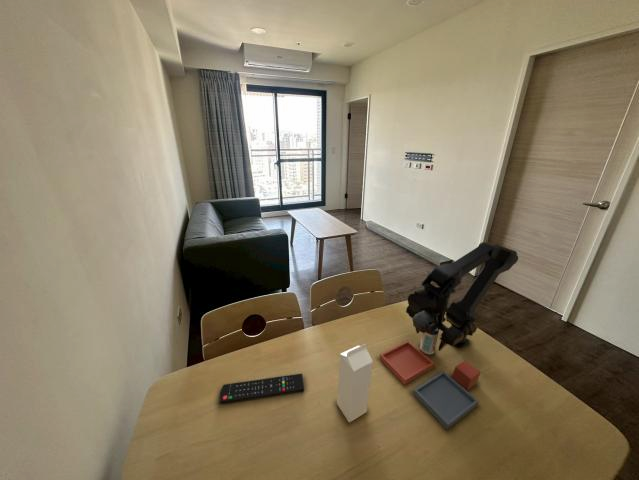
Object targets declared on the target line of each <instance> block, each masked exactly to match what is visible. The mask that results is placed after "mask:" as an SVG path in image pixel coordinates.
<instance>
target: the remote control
mask: <svg viewBox="0 0 639 480" xmlns="http://www.w3.org/2000/svg"><path fill="white" fill-rule="evenodd" d="M303 379H304V378H303V373H296V374H295V373H294V374H290V375H281V376H274V377H267V378H262V379H261V378H259V379H254V380H247V381H239V382H232V383H226V384H223V385H222V387H221V388H220V391H219V402H220V404H226V403H233V402H240V401H246V400H251V399H252V400H253V399H260V398H266V397H271V396H277V395H286V394H292V393H298V392H305V386H304V380H303Z"/></svg>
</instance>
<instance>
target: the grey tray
mask: <svg viewBox="0 0 639 480" xmlns="http://www.w3.org/2000/svg"><path fill="white" fill-rule="evenodd" d="M412 394H413V396H414V397H415V398H416V399H417V400H418V401H419V402H420V403H421V404H422V405H423V406H424V408H425V409H426V410H427V411H428V412H429V413H430V414H431V415H432V416H433V417H434V418H435V419H436V420H437V421H438V422H439V423H440V424H441V425H442V426H443V428H444V429H446V430H447V431H448V430H449V429H450V428H452V427H453V426H454V425H455V424H457V422H459V421H460V420H461V419H462V418H464V417H465V416H466V415H468V414H469V413H470V412H471V411H473V409H475V408H476V407H477V406H478V404H479V399H477V398H475V396H473V395H472V394H471V393H470V392H469V391H468V390H465V389H464V388H463V387H462V386H461V385H460V384H458V383H457V382H456V381H455V380H454V379H453V378H452V376H450V375H449V374H448V373H447V372H446V371H444V370H442V371H441V372H439V373H438V374H436V375H434V376H433V377H431V378H430V379H428V380H427V381H425V382H423V383H422V384H421V385H418V386H417V387H416V388H413V393H412Z"/></svg>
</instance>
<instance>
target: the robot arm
mask: <svg viewBox="0 0 639 480" xmlns="http://www.w3.org/2000/svg"><path fill="white" fill-rule="evenodd" d="M518 261H519V255H518V252H517V251H516V250H514V249H511V248H509V247H507V246H506V247H505V246H504V245H501V244H497V243H495V244H491V243H489V242H486V241H482V242H480V243H479V244H478V245H477V246H476V247H475V248H474V249H472V250H470V251H469V252H468V253H466V254H463V256H461V257H460V258H458V259H456V260H454V261H453V262H449V263H442V264H440V265H438V266H435V267H434V268H433V269H432V270H431V271H430V273H428V275H427V276H426V278H425V279H424V280H423V281H422V283H421V286H422V287H423V289H415V290H414V291H413V293H410V294H409V295H408V296H407V304H408V305H407V307H406V310H405V313H406V314H408V316H409V317H410V318H411V319H412V325H413V327H414V328H415V333H416V334H420V333H422V334H423V333H425V332H429V333H432V332H434V331H435V330H436V329H437V328H438V329H439V331H441V335H440V337H439V340H440V342H439V345H438V352H441V351H442V350H443V349H444V348H445V347H446V346H447V345H449V346H455V347H456V348H458V349H461V348H462V347H464V346H466V345H468V344H470V343H471V341H470V340H469V339H468V338H467V337H468V336H469V337H471V336H473V334H475V333H476V332H477V329H478V326H477V325H475V323H474V322H475V320H476V315H477V314H476V309H477V307H478V306H479V304H480V303H481V301H482V300H483V298H484V297H485V296H486V294H487V293H488V292H489V290H490V288H491V287H492V285H493V284H494V282H495V281H496V279H497V278H498V276H499V275H501V274H503V273H505V272H507V271H510V269H511V268H512V267H513V266H514V265H515V264H517V262H518ZM481 265H483V267H482V269H480V272H479V273H478V275H477V276H476V278H475V279H474V281H473V282H472V283H471V285H470V286H469V288H468V290H467V291H466V292H465V294H464V295H463V297H462V298H461V300H459V301H456V302H455V301H452V302H451V303H450V305H449V301H450V297H451V294H455V293H456V292H457V291H456V290H455V289H456V288H457V287H458V286H459V285H460V284H461V283H462V280H463V277H465V276H466V275H467V274H469V273H471V272H472V271H473V270H475V269H477V268H478V267H479V266H481ZM432 283H433V284H432ZM434 284H435V285H436V286H435V285H434ZM448 305H449V307H448ZM444 322H448V323H450V327H448V326H447V325H446V324H444Z"/></svg>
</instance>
